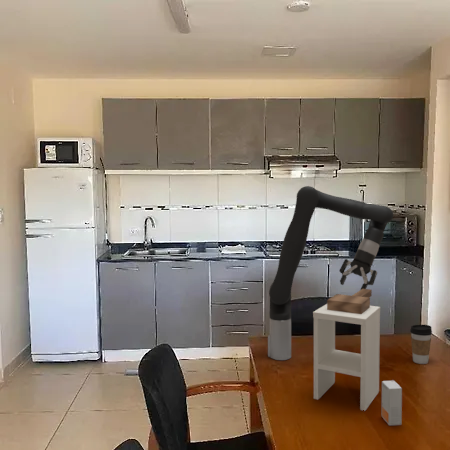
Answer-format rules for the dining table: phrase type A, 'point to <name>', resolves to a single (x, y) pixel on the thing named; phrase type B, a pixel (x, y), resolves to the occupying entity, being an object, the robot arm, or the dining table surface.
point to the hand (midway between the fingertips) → (351, 288)
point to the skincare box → (391, 403)
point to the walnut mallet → (350, 302)
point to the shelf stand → (347, 361)
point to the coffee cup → (421, 343)
